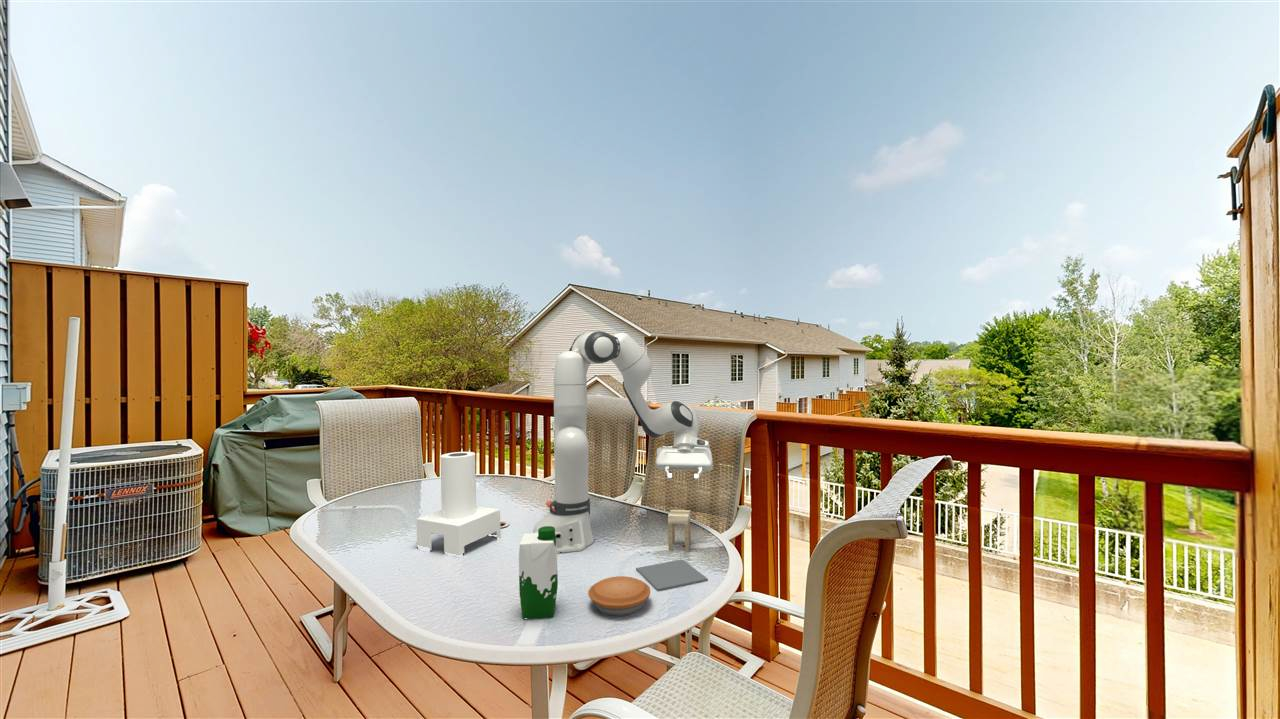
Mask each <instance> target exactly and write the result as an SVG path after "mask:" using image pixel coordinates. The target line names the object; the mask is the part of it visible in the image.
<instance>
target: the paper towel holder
mask: <svg viewBox="0 0 1280 719" xmlns="http://www.w3.org/2000/svg"><path fill="white" fill-rule="evenodd" d="M476 478H477V477H476V453H475V452H473V451H457V452H456V451H455V452H448V453H444V454H443V453H442V454H441V455H440V485H441V486H440V489H441V490H440V492H441V493H440V494H441V496H440V497H441V509H440V510H438V511H435V512H433V513H430V514H427V515H424V516H421V517H418V518H416V546H417V545H419V546H423V547H428V548H431V549H432V535H441V536H443V550H444V551H443V552H447V553H451V554H456V555H461V554H463V553H464V554H465V547H466V546H467V545H469V544H471V543H474V542H476V541H478V540H480V539H482V538H485V537H488V536H487V535H489V534H491V535H497V538H498V537H500V536H501V534H502V533H501V509H499V508H491V507H485V506H479V505H478V506H477V486H476V485H477V484H476V483H477V482H476V481H477V480H476ZM501 537H502V536H501ZM497 538H496V539H497Z"/></svg>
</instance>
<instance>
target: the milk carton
mask: <svg viewBox="0 0 1280 719" xmlns="http://www.w3.org/2000/svg"><path fill="white" fill-rule="evenodd" d="M518 551H519V553H518V577H519V578H518V579H519V581H518V583H519V586H518V587H519V589H518V590H519V591H518V592H519V602H520V608H521V614H522V619H523V618H537V619H547V618H548V619H549V618H551V619H552V617H553V618H554V615H555V608H556V603H557V594H558V589H559V588H558V587H559V586H558V585H559V584H558V583H559V582H558V580H559V579H558V577H559V576H558V553H557V546H556V532H555V528H554V527H552V526H545V527H541V528H539V529H538V532H536V533H533V532H532V533H523V535H522V538H521V540H520V543H519V550H518ZM546 617H547V618H546Z"/></svg>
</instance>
